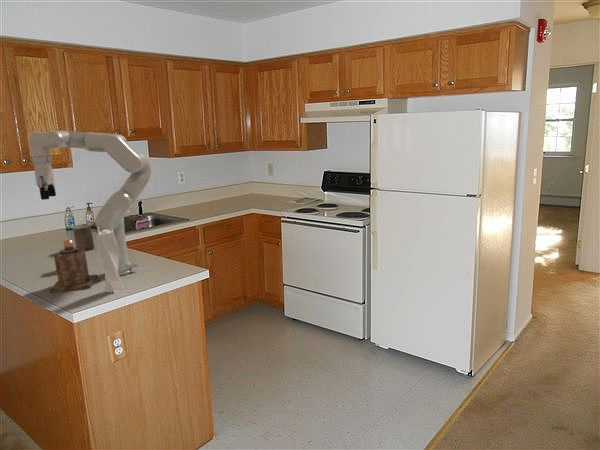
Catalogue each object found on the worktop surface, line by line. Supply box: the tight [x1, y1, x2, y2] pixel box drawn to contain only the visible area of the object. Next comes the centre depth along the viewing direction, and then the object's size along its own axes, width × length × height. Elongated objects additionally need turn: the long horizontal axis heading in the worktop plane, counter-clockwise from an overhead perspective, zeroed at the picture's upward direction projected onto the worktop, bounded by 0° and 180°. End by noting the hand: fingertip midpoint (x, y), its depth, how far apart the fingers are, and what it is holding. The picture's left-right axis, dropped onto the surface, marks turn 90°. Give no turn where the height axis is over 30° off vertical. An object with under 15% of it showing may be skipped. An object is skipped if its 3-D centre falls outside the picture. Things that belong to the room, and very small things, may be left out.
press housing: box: [49, 248, 99, 293], centre depth 204 cm, size 16×15×16 cm
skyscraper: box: [97, 227, 125, 294], centre depth 193 cm, size 8×8×28 cm
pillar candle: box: [72, 224, 95, 252], centre depth 267 cm, size 10×10×15 cm
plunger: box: [60, 239, 78, 253], centre depth 204 cm, size 7×7×18 cm
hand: (48, 197), depth 209 cm, fingers open, 9 cm apart
